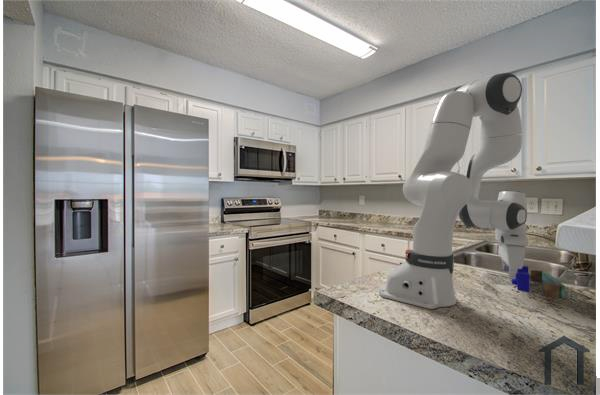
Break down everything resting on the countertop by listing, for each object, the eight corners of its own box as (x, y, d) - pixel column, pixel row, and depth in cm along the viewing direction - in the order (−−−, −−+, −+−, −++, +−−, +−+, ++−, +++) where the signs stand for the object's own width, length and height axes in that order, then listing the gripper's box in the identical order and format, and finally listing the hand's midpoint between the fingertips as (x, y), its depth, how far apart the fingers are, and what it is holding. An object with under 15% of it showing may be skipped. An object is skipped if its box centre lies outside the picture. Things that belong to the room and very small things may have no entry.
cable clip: (511, 280, 106) (512, 264, 106) (527, 282, 104) (528, 266, 103) (512, 289, 97) (512, 272, 96) (528, 292, 94) (529, 274, 94)
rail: (544, 296, 90) (545, 283, 90) (529, 279, 106) (529, 268, 106) (564, 299, 88) (565, 286, 88) (545, 281, 104) (545, 270, 104)
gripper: (494, 231, 112) (493, 265, 113) (505, 240, 94) (504, 281, 94) (514, 232, 109) (512, 268, 110) (529, 242, 91) (527, 284, 91)
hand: (508, 274), depth 102 cm, fingers open, 8 cm apart
